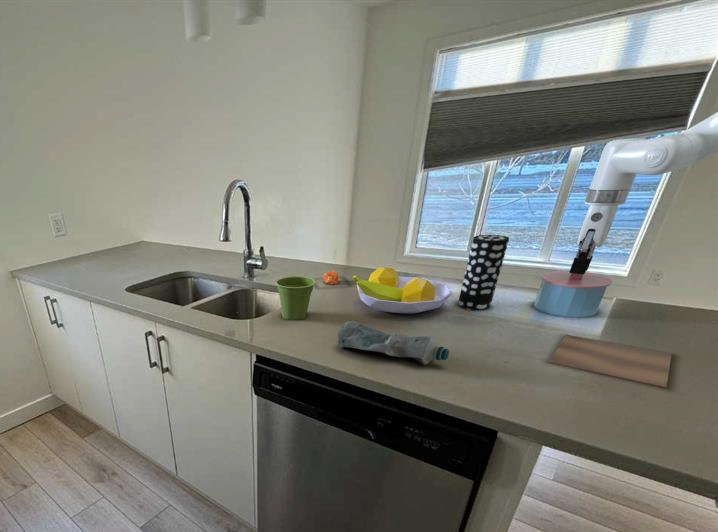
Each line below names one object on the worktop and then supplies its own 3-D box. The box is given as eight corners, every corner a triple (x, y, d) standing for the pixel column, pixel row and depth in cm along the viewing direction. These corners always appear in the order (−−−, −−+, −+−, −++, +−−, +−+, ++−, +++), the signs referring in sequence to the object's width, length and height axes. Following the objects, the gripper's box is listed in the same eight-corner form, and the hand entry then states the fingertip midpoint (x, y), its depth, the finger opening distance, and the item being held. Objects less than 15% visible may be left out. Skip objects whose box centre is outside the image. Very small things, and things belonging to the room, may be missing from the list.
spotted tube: (484, 314, 116) (503, 242, 106) (452, 308, 121) (468, 239, 111) (493, 305, 120) (513, 236, 110) (463, 300, 126) (479, 233, 116)
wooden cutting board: (565, 337, 99) (566, 334, 99) (670, 357, 88) (671, 353, 87) (548, 364, 89) (549, 361, 89) (664, 390, 77) (666, 387, 77)
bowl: (539, 299, 122) (549, 271, 118) (599, 307, 113) (612, 277, 109) (528, 312, 114) (538, 283, 110) (591, 322, 105) (604, 291, 101)
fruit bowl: (434, 293, 134) (442, 258, 128) (457, 323, 112) (466, 283, 106) (346, 293, 141) (349, 260, 135) (350, 322, 119) (354, 284, 113)
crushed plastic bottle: (328, 352, 103) (432, 380, 86) (331, 325, 99) (439, 348, 83) (353, 339, 111) (453, 362, 94) (356, 313, 108) (460, 332, 91)
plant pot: (298, 327, 119) (299, 289, 113) (267, 318, 127) (267, 283, 121) (321, 315, 125) (324, 279, 119) (291, 307, 133) (291, 273, 127)
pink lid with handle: (546, 272, 119) (556, 243, 115) (614, 279, 109) (627, 248, 105) (534, 285, 110) (544, 254, 106) (606, 294, 101) (620, 261, 96)
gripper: (623, 201, 92) (591, 281, 101) (631, 192, 101) (601, 266, 110) (580, 201, 97) (553, 277, 106) (591, 192, 106) (566, 263, 115)
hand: (578, 271), depth 108 cm, fingers closed on pink lid with handle, 2 cm apart
